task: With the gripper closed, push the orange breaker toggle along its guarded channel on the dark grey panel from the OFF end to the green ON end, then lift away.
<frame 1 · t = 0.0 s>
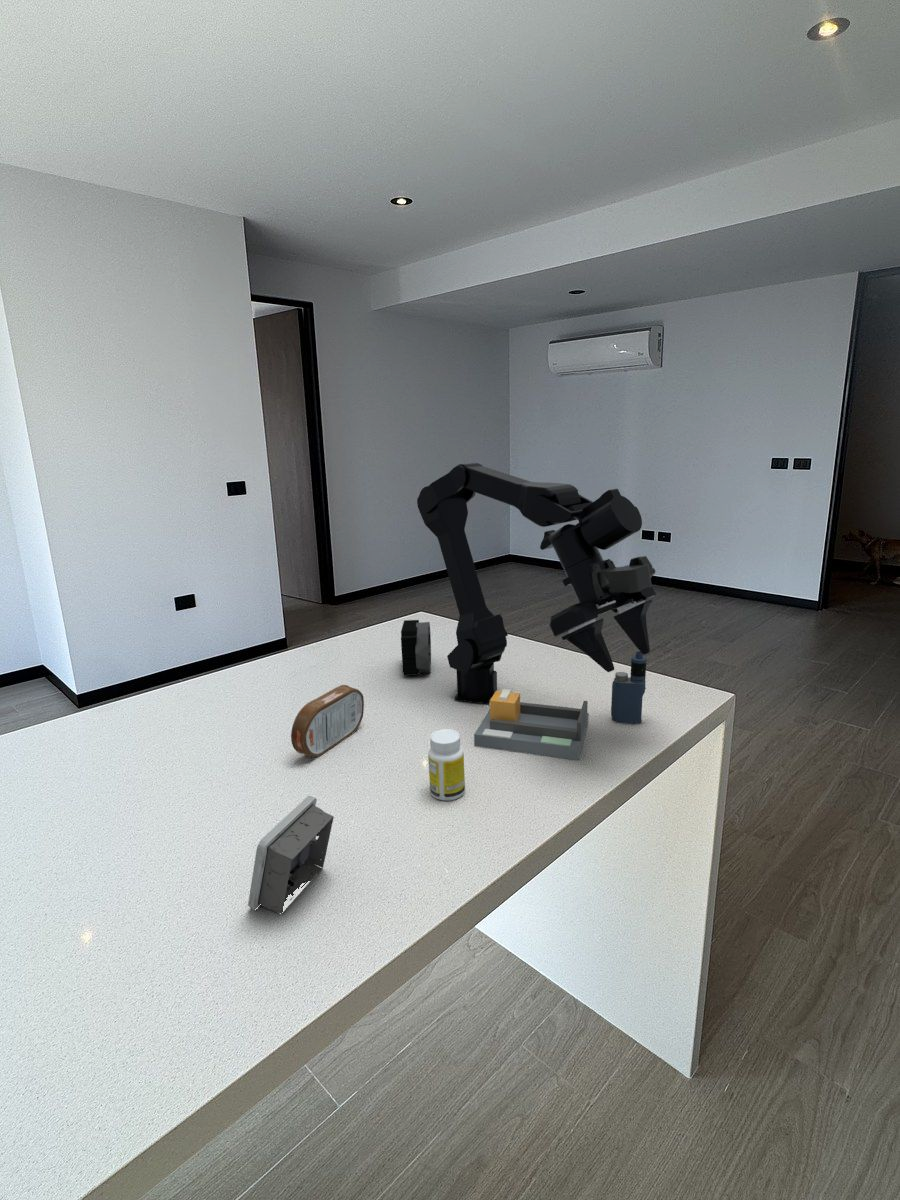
hand: (629, 662, 89), 15 cm above the counter, tool tilted 35°, fingers open, 9 cm apart
electrical switch: (296, 888, 69), on the counter
supplement bottle: (447, 793, 86), on the counter
breaker toggle: (505, 706, 101), point 4 cm above the counter, slide at 0.0 cm
vaping device: (627, 721, 104), on the counter
cpu cooler: (417, 671, 128), on the counter
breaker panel: (532, 734, 100), on the counter
tin: (332, 744, 100), on the counter
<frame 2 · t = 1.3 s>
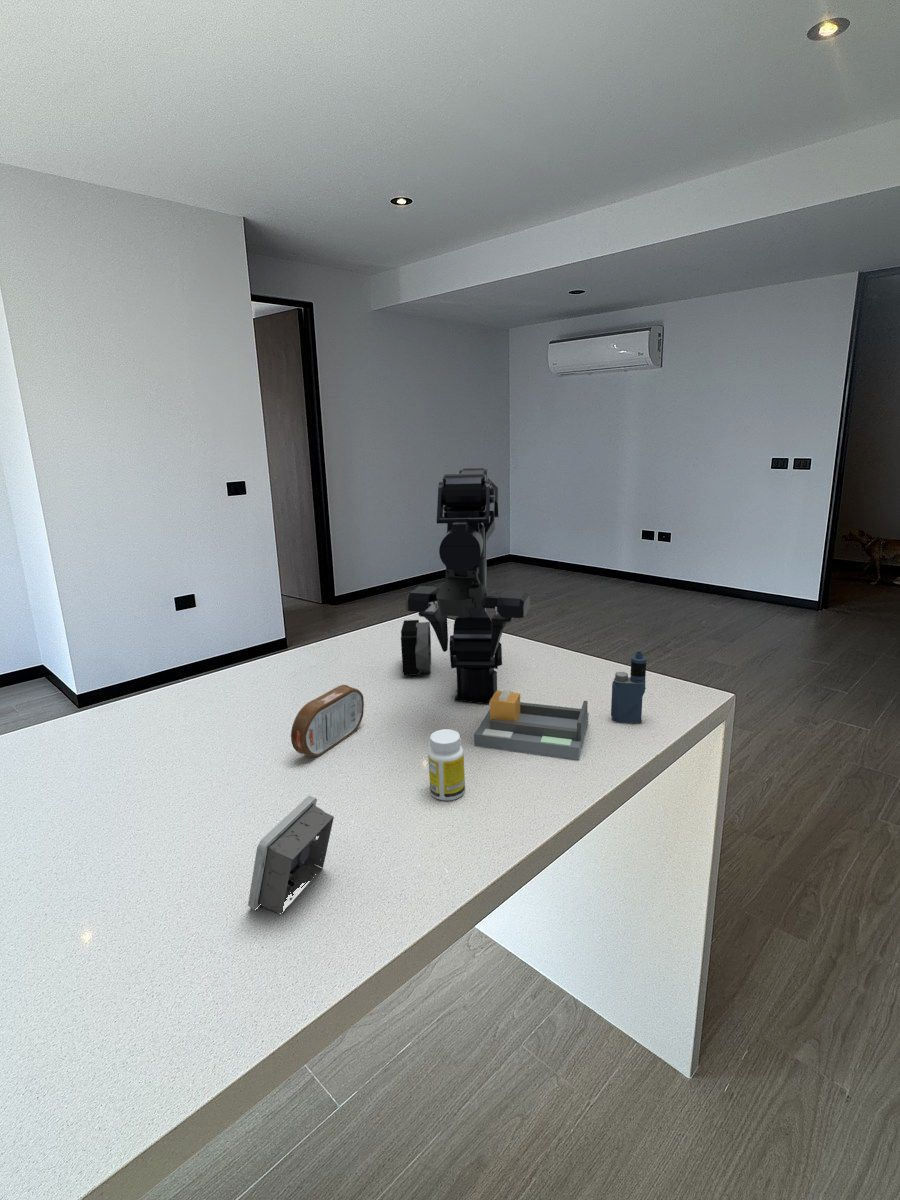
hand: (468, 653, 100), 13 cm above the counter, tool pointing down, fingers open, 8 cm apart
nothing on the counter moved.
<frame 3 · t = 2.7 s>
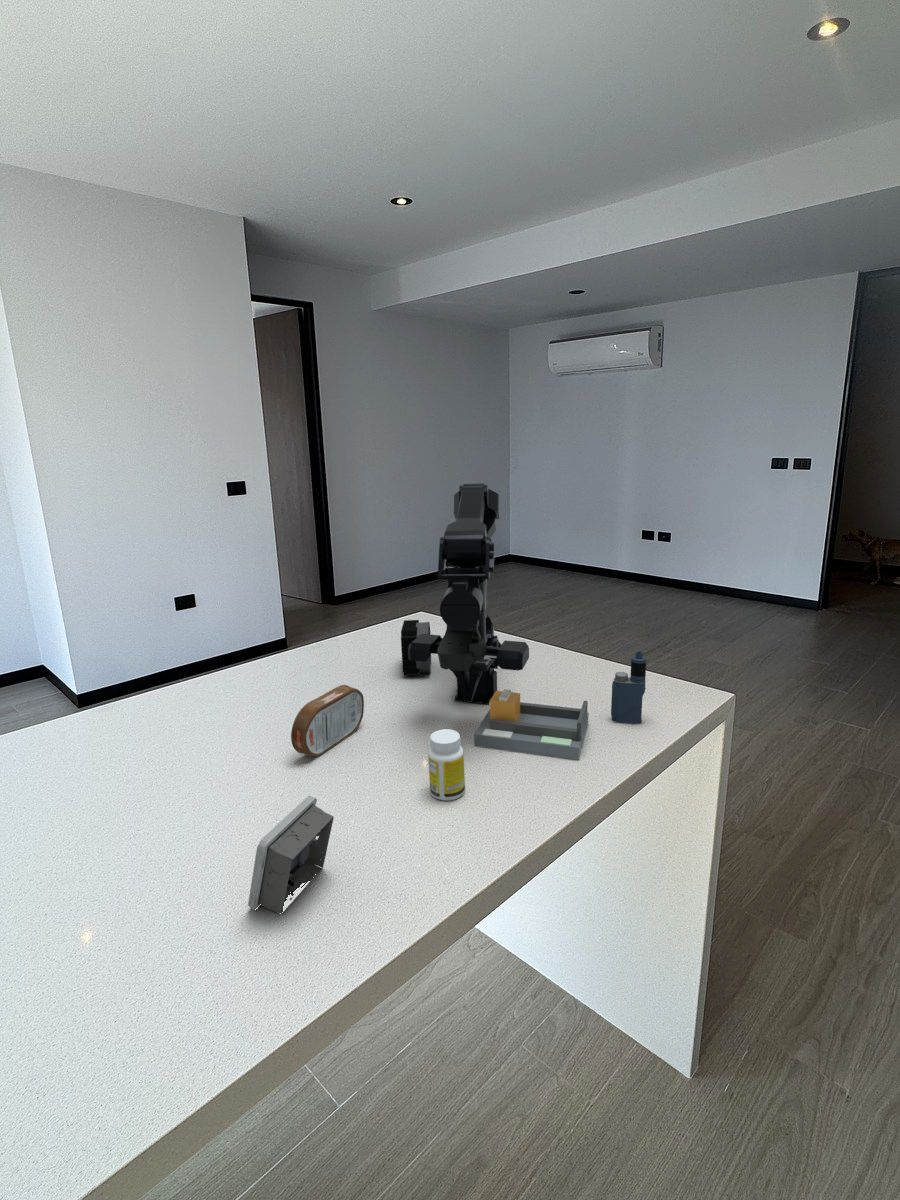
hand: (469, 700, 103), 5 cm above the counter, tool pointing down, fingers closed
nothing on the counter moved.
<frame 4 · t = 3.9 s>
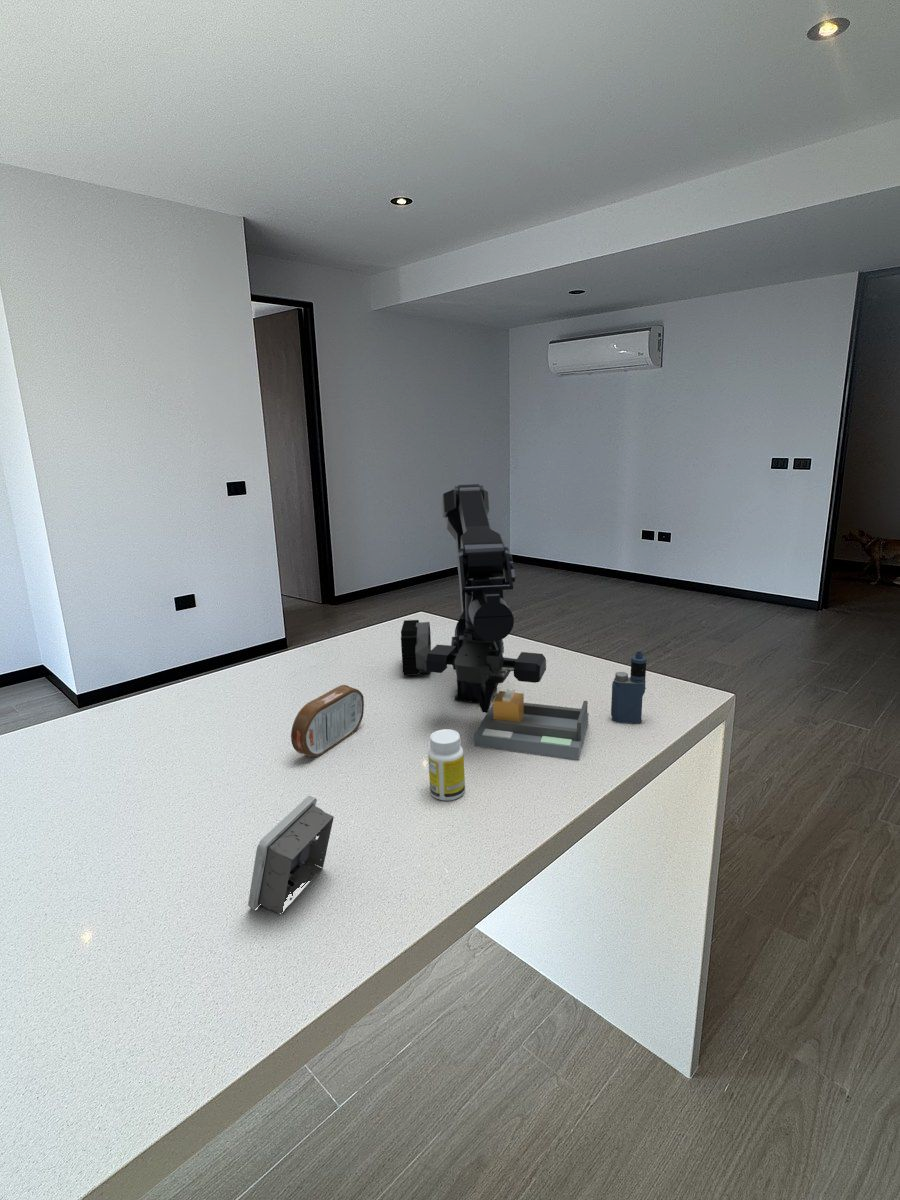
hand: (485, 711, 102), 3 cm above the counter, tool pointing down, fingers closed
breaker toggle: (508, 706, 101), point 4 cm above the counter, slide at 0.6 cm, touching gripper
everything else where it was.
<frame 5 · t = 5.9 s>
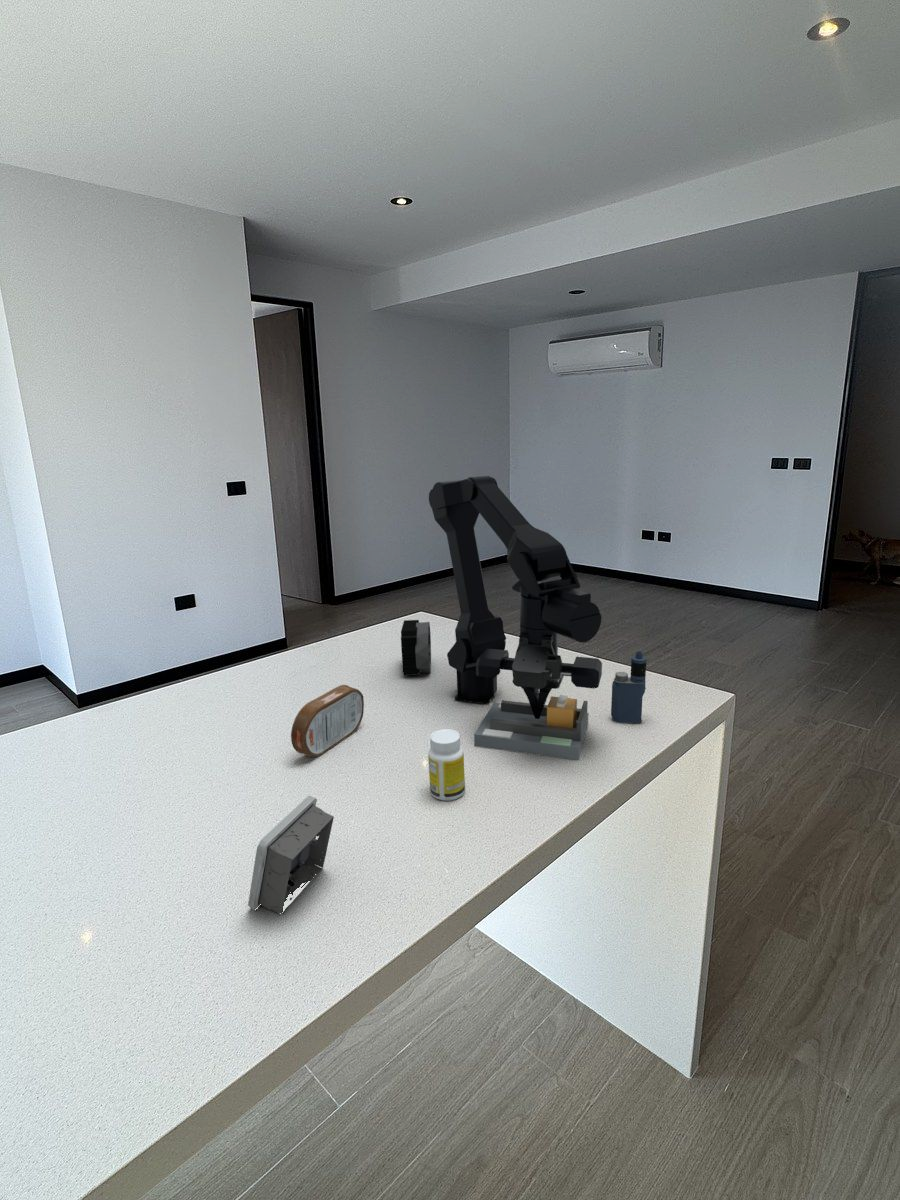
hand: (537, 717, 99), 3 cm above the counter, tool pointing down, fingers closed
breaker toggle: (562, 712, 98), point 4 cm above the counter, slide at 9.1 cm, touching gripper
everything else where it was.
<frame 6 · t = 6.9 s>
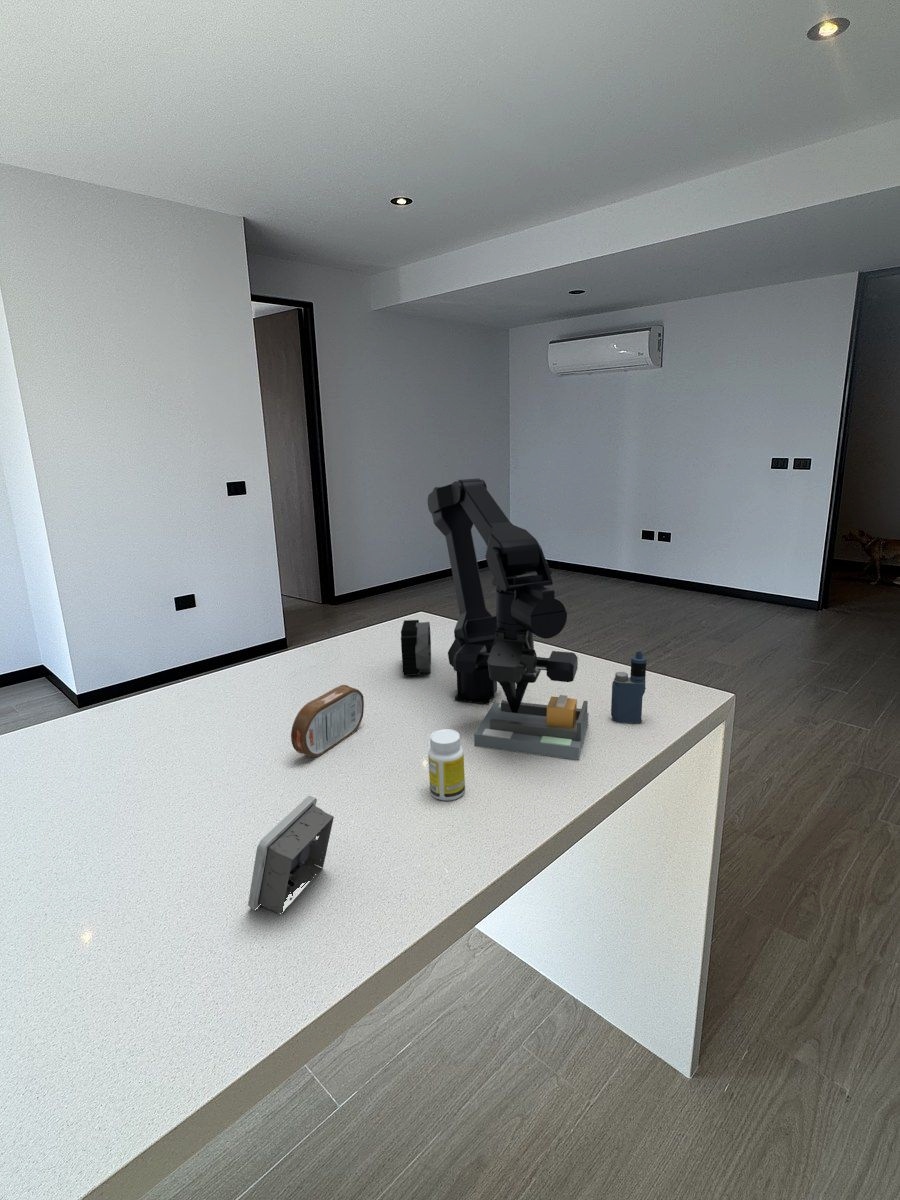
hand: (515, 711, 100), 4 cm above the counter, tool pointing down, fingers closed
breaker toggle: (561, 712, 98), point 4 cm above the counter, slide at 9.0 cm
everything else where it was.
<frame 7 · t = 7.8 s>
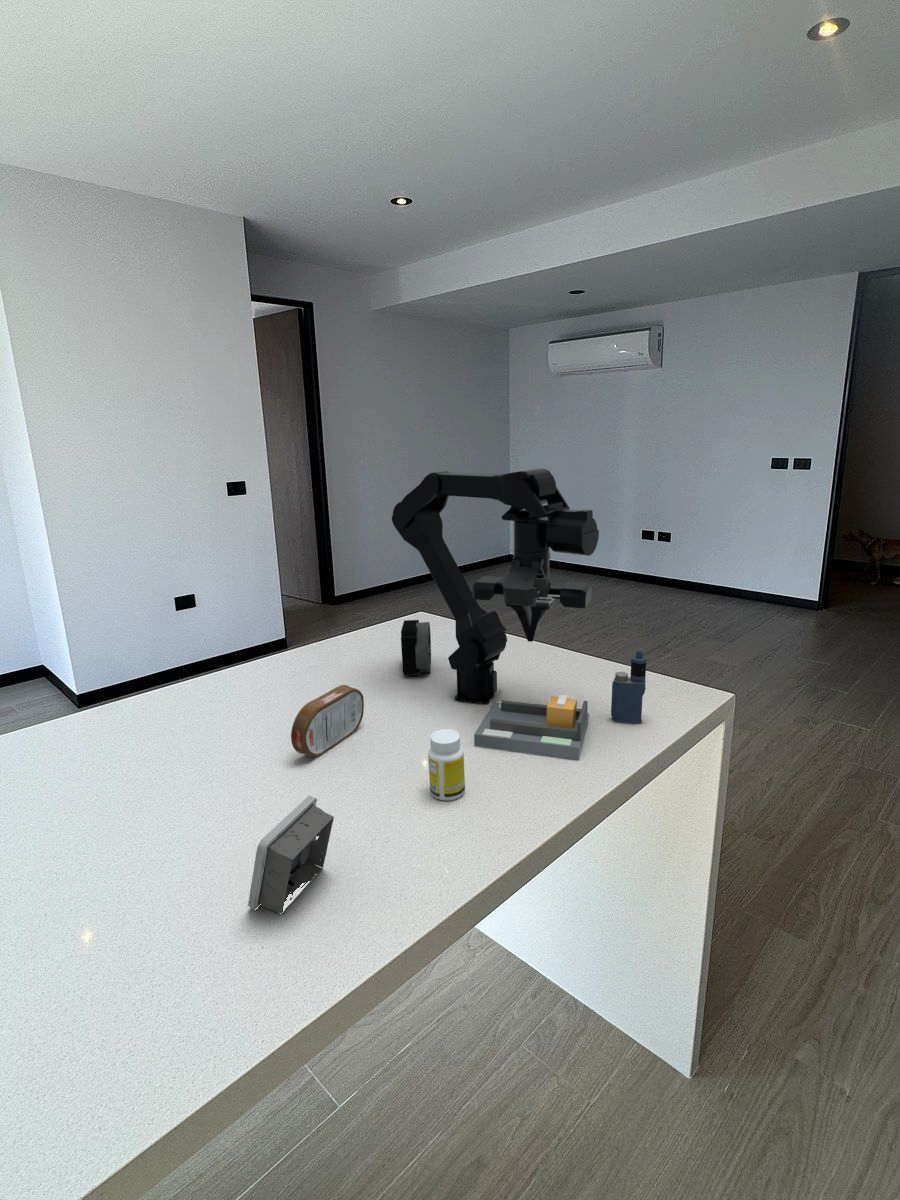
hand: (530, 640, 105), 13 cm above the counter, tool pointing down, fingers closed
nothing on the counter moved.
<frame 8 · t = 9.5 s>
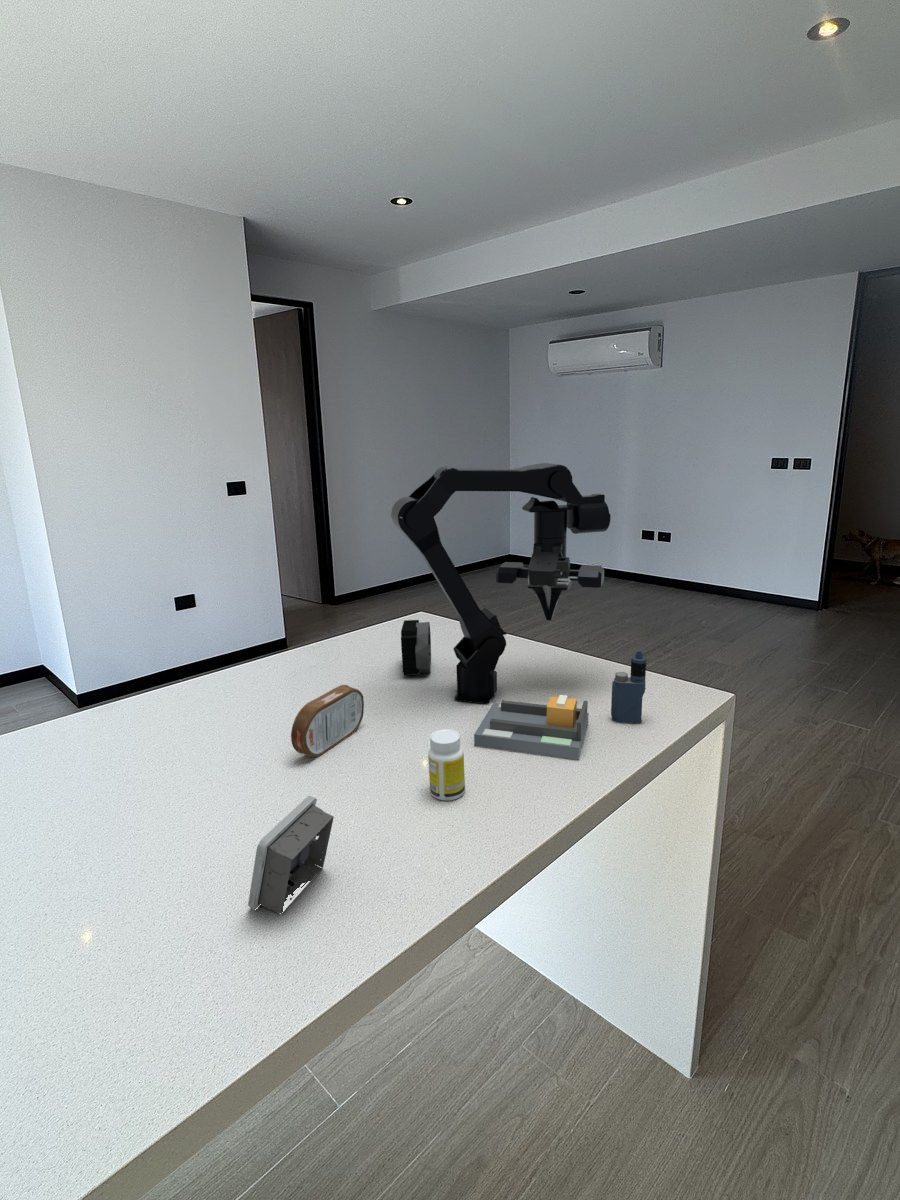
hand: (549, 619, 115), 13 cm above the counter, tool pointing down, fingers closed
nothing on the counter moved.
at the end: breaker toggle slide at 9.0 cm; breaker toggle 0.2 cm from the target spot, point 4.4 cm above the counter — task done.
